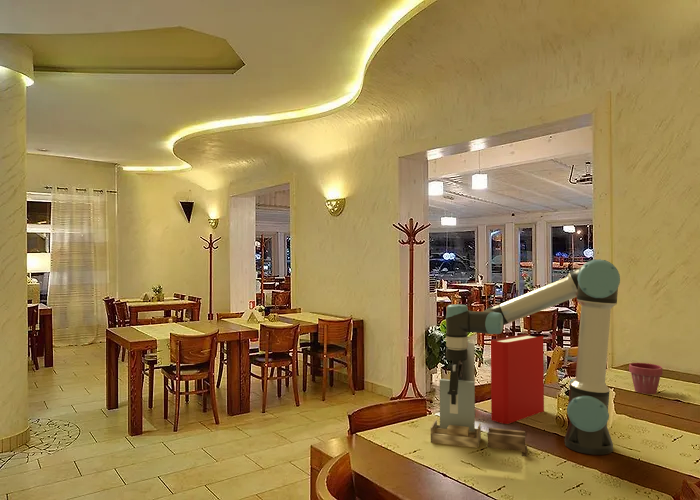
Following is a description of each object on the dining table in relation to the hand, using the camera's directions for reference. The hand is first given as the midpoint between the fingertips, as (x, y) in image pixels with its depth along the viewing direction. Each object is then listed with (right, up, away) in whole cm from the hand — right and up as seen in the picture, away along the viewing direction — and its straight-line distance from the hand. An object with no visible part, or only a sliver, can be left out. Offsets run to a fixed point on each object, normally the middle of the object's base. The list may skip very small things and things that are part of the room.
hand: (456, 407), depth 185 cm
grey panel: (0, -10, 0) cm, 10 cm away
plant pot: (+106, -13, +67) cm, 126 cm away
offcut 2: (+1, -10, -6) cm, 12 cm away
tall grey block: (+12, -13, +35) cm, 39 cm away
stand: (+15, -12, -9) cm, 21 cm away
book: (+31, -12, +30) cm, 45 cm away
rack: (-1, -12, -3) cm, 12 cm away
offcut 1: (0, -8, -5) cm, 9 cm away
